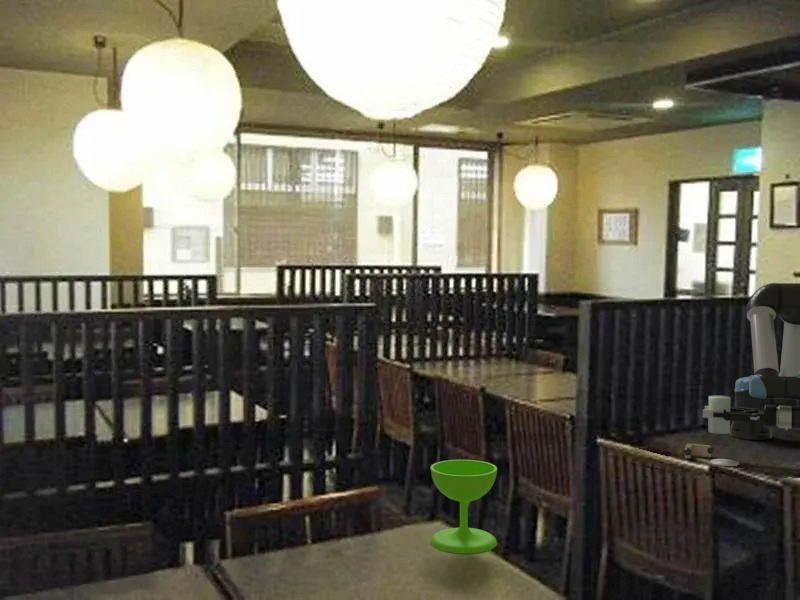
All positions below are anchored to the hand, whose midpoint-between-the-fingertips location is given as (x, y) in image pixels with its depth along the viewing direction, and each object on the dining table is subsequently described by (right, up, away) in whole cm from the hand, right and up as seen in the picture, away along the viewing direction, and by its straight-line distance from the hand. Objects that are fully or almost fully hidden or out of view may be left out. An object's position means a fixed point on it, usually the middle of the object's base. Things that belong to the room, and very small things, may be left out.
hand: (703, 411), depth 272 cm
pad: (+3, -16, -9) cm, 19 cm away
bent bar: (-2, -16, -1) cm, 16 cm away
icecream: (-21, -17, -9) cm, 28 cm away
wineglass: (-90, -20, -84) cm, 125 cm away
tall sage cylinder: (+4, -7, -2) cm, 8 cm away
